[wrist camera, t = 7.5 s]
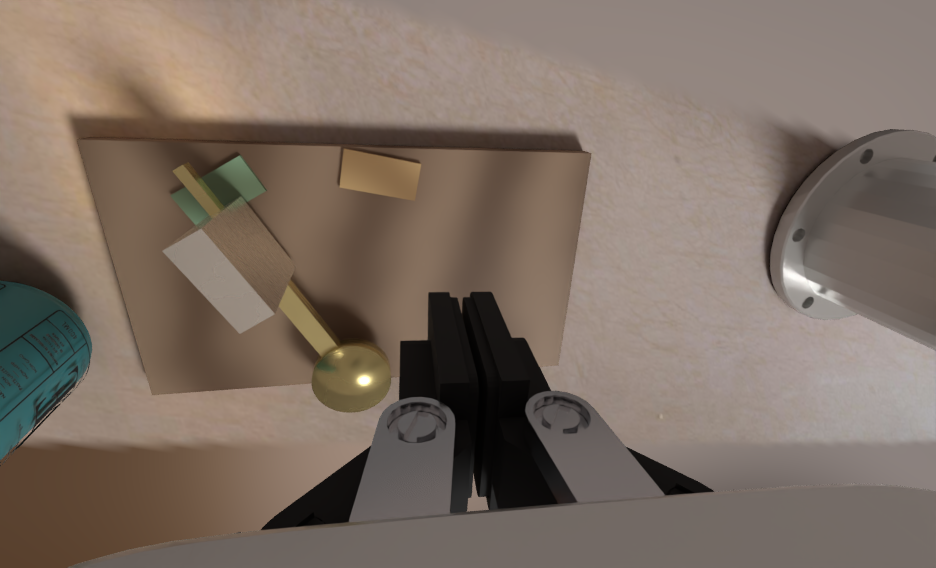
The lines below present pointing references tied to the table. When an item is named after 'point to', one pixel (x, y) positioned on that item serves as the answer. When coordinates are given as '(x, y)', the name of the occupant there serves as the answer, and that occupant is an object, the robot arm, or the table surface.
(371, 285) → the cutting board
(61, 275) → the table surface
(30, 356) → the beverage bottle
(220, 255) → the gold and silver piece
